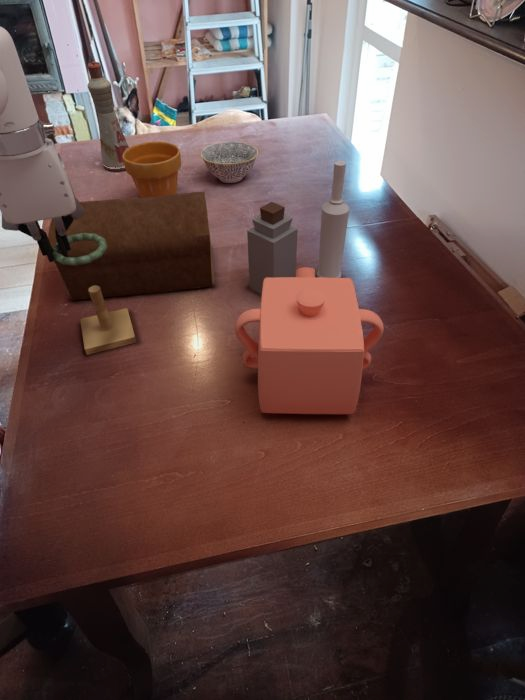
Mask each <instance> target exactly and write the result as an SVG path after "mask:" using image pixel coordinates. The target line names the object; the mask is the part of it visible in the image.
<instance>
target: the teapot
mask: <svg viewBox="0 0 525 700" xmlns="http://www.w3.org/2000/svg"><path fill="white" fill-rule="evenodd" d="M253 322H258V323H259V324H258V325H259V327H258V341H257V342H258V343H257V342H256V341H255V340H254V339H253V338H252V336H250V334H249V333H248V332H247V331H246V329H245V327H244V326H245V325H247V324H251V323H253ZM362 323H366V324H370V325H373V326H374V327H373V328H372V330H371V331H370V332H369V333H368V334H367V335H366V336H365V337H364V333H363V327H362ZM384 327H385V326H384V323H383V321H382V319H381V317H380V316H379V315H378V314H377V313H376V312H374V311H372V310H370V309H366V308H365V309H364V308H360V307H359V303H358V298H357V293H356V288H355V284H354V281H353V279H352V278H351V277H341V278H322V277H317V276H316V268H313V267H309V266H307V267H306V266H303V267H298V268H297V267H296V276H295V277H277V278H265V279H264V281H263V288H262V295H261V299H260V308H252V309H251V308H250V309H247V310H246V311H244V312H242V313H241V314H239V316H238V317H237V319H236V320H235V323H234V332H235V336H236V337H237V339H238V341H239V342H240V343H241V345H242V346H243V347H244V348H245V350H244V352H243V354H242V361H243V363H244V365H245V366H246V367H247V368H250V369H257V391H258V403H259V408H260V409H259V410H260V412H261V413H263V414H286V415H287V414H290V415H292V414H293V415H294V414H295V415H354V414H355V412H356V409H357V406H358V403H359V398H360V393H361V385H362V377H363V370H365V369H367V368H368V367H369V366H370V365H371V364H372V363H371V362H372V355H371V353H370V352H369V351H370V350H371V349H372V348H373V347H374V346H376V345H377V343H378V342H379V341H380V340H381V338H382V337H383V334H384V331H385V329H384Z"/></svg>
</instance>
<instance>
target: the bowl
mask: <svg viewBox="0 0 525 700" xmlns="http://www.w3.org/2000/svg"><path fill="white" fill-rule="evenodd" d="M199 155H200V157H201V159H202V160H203V162H204V164H205V167H206V168H207V170H208V171H209V173H211V175H213V176H214V177H216V178H217V179H218V180H219V181H220V182H222V183H224V184H225V183H226V184H234V183H235V184H236V183H238V182H241V181H242V180H243V178H244V177H246V176H247V175H249V173H250V172H251V171H252V169H253V167H254V164H255V162H256V159H257V157H258V155H259V150H258V148H257V147H255V146H254V145H252V144H250V143H247V142H242V141H219V142H215V143H211V144H209V145H207V146H205V147H204V148H203V149H201V151H200V153H199Z"/></svg>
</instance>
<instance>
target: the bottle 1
mask: <svg viewBox="0 0 525 700" xmlns="http://www.w3.org/2000/svg"><path fill="white" fill-rule="evenodd" d="M87 70H88V72H89V76H90V79H89V82H88V83H87V89H88V91H89V93H90V97H91V99H92V102H93V104H94V106H95V109H96V112H97V123H98V130H99V141H100V142H99V143H100V152H101V163H102V165H103V164H104V165H105V166H107V167H115V168H116V167H122V166H125V165H124V161H123V157H122V155H123V153H124V151H125V150H127V149H128V148H130V145H129V143H128V141H127V139H126V137H125V135H124V132H123V129H122V128H121V127H122V126H121V125H120V122H119V119H118V117H117V114H116V111H115V107H114V105H115V104H114V98H113V91H112V83H111V81H109V79H107V78H105V76H104V75H103V68H102V63H100V62H98V61H92V62H89V63H88V64H87ZM104 165H103V167H104V168H105V169H107V170H108V171H110V172H112V171H113V172H122V171H126V169H125V168H120V169H110V168H106V167H105V166H104Z"/></svg>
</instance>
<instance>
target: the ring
mask: <svg viewBox="0 0 525 700" xmlns="http://www.w3.org/2000/svg"><path fill="white" fill-rule="evenodd" d="M67 238H68V241H69V244H71V243H73V242H78V241H83V240H86V241H95V242H97V243H98V244H99V247H98V248H97V250H96V251H94V252H92V253H90V254H88V255H86V256H81V257H76V258H73V257H65V256H63V255H61V253H60V248H59V245H58V243H56V245H55V246H54V247H53V248H52V254H53V258H54V260H56V261H58V262H60V263H61V264H63V265H75V266H77V265H82V264H86V263H91V262H92V261H94V260H96V259H98V258H100V257H101V256H102V255H103V254H104V252H105V251H106V250H107V244H106V240H105V239H104V238H103V237H101V236H99V235H97V234H92V233H80V234H75V235H70V236H68V237H67Z"/></svg>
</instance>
